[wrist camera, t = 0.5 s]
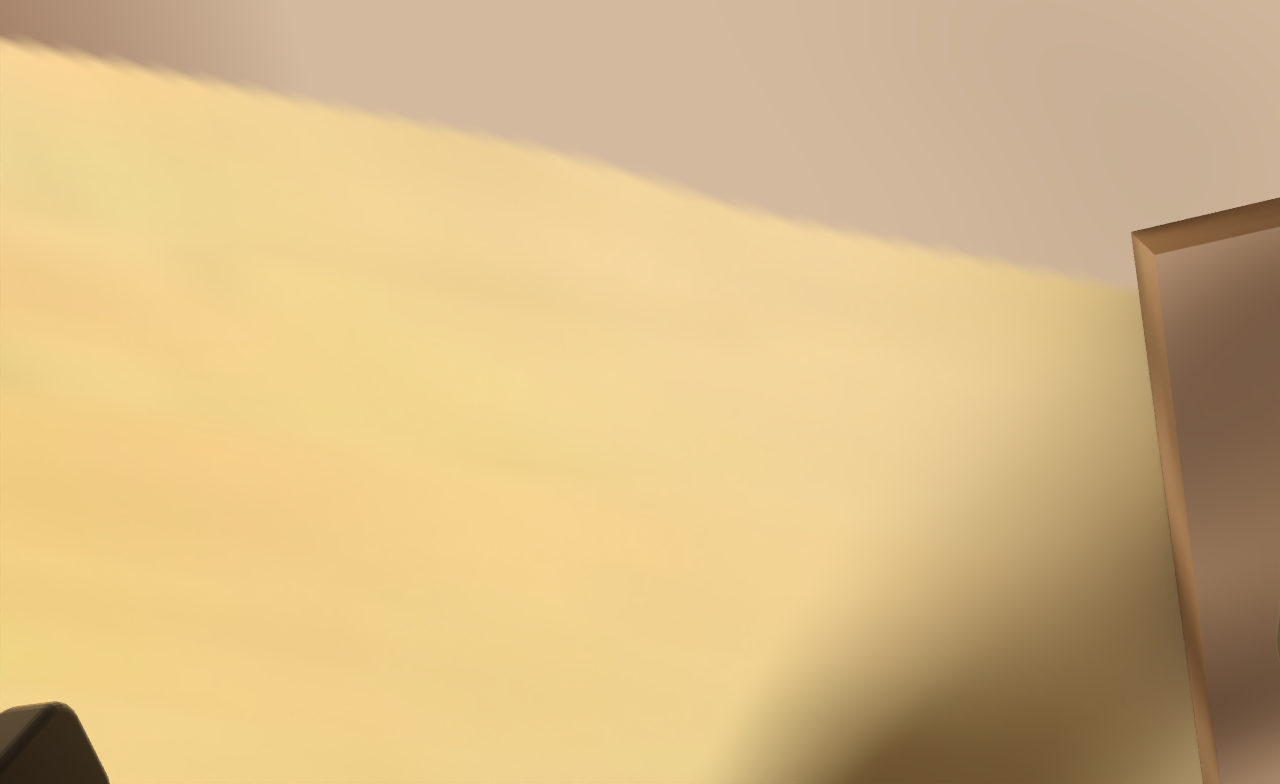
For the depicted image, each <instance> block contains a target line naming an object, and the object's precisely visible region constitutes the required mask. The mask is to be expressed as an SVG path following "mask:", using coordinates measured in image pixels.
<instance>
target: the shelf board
mask: <svg viewBox="0 0 1280 784" xmlns="http://www.w3.org/2000/svg"><path fill="white" fill-rule="evenodd" d="M1131 235H1132V242H1133V250H1134V257H1135V265H1136V273H1137V281H1138V288H1139V296H1140V304H1141V311H1142V319H1143V327H1144V334H1145V342H1146V350H1147V357H1148V365H1149V373H1150V380H1151V388H1152V395H1153V403H1154V411H1155V418H1156V426H1157V434H1158V441H1159V449H1160V457H1161V464H1162V472H1163V480H1164V487H1165V495H1166V503H1167V510H1168V518H1169V525H1170V533H1171V541H1172V548H1173V556H1174V564H1175V571H1176V579H1177V587H1178V594H1179V602H1180V610H1181V617H1182V625H1183V633H1184V640H1185V648H1186V655H1187V663H1188V671H1189V678H1190V686H1191V694H1192V701H1193V709H1194V717H1195V724H1196V732H1197V740H1198V747H1199V755H1200V763H1201V770H1202V778H1203V784H1280V661H1279V657H1278V652H1277V647H1276V630H1277V621H1278V613H1279V605H1280V198H1276V199H1271V200H1267V201H1263V202H1259V203H1254V204H1250V205H1246V206H1241V207H1237V208H1233V209H1229V210H1224V211H1220V212H1215V213H1211V214H1207V215H1203V216H1199V217H1194V218H1190V219H1185V220H1181V221H1177V222H1172V223H1168V224H1164V225H1160V226H1155V227H1151V228H1147V229H1142V230H1138V231H1134V232H1131Z"/></svg>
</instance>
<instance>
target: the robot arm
mask: <svg viewBox="0 0 1280 784" xmlns="http://www.w3.org/2000/svg"><path fill="white" fill-rule="evenodd" d="M1276 647H1277V652H1278V657H1279V661H1280V605H1279V613H1278V621H1277V630H1276ZM0 784H110V783H109V779H108V776H107V774H106V772H105V770H104V768H103V766H102V764H101V762H100V760H99V758H98V756H97V754H96V752H95V750H94V748H93V746H92V744H91V742H90V740H89V738H88V736H87V734H86V732H85V730H84V728H83V726H82V724H81V722H80V720H79V718H78V716H77V715H76V713H75V712H74V710H73V709H72V708H70V707H69V706H68V705H67V704H65V703H61V702H47V703H39V704H31V705H23V706H17V707H12V708H10V709H7V710H5V711H3V712H2V713H0Z"/></svg>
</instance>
